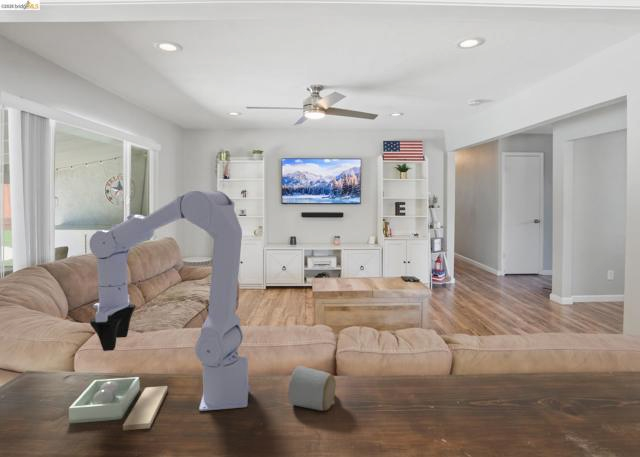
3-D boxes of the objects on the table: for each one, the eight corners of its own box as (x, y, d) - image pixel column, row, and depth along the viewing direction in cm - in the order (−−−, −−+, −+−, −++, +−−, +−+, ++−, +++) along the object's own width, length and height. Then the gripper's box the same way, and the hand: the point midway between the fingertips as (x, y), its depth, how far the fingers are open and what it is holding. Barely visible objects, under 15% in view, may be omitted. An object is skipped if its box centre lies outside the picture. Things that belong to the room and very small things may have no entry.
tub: (139, 389, 84) (139, 376, 84) (121, 419, 73) (120, 404, 73) (95, 393, 83) (94, 380, 82) (69, 423, 72) (68, 408, 71)
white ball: (122, 390, 82) (120, 376, 81) (116, 402, 78) (113, 387, 77) (105, 392, 81) (102, 378, 80) (98, 404, 78) (94, 389, 77)
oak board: (167, 390, 84) (167, 385, 84) (149, 428, 70) (149, 423, 70) (145, 391, 83) (145, 387, 83) (123, 430, 69) (122, 425, 69)
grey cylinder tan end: (326, 419, 73) (326, 380, 72) (287, 411, 76) (287, 374, 75) (341, 393, 83) (341, 359, 82) (306, 387, 86) (306, 354, 85)
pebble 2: (116, 402, 78) (115, 385, 78) (109, 411, 74) (108, 393, 74) (97, 404, 77) (96, 387, 77) (89, 413, 74) (88, 395, 74)
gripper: (106, 277, 91) (109, 332, 92) (78, 292, 76) (81, 357, 77) (138, 276, 92) (140, 331, 93) (115, 291, 77) (118, 355, 79)
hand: (115, 343), depth 85 cm, fingers open, 7 cm apart
